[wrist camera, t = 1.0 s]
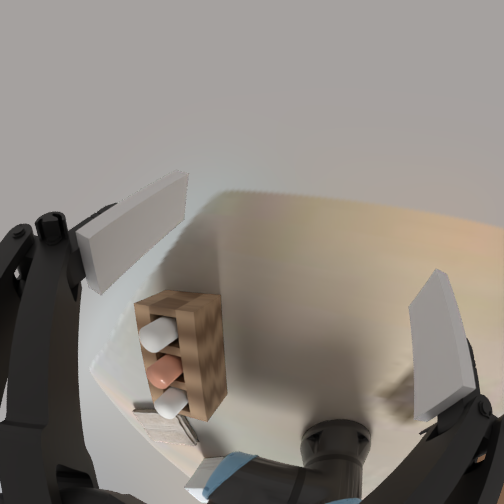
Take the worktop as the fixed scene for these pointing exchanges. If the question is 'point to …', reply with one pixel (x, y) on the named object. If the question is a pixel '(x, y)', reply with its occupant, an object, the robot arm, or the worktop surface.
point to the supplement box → (202, 477)
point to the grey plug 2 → (171, 402)
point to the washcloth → (166, 427)
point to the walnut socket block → (190, 347)
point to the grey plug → (158, 333)
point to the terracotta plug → (165, 371)
